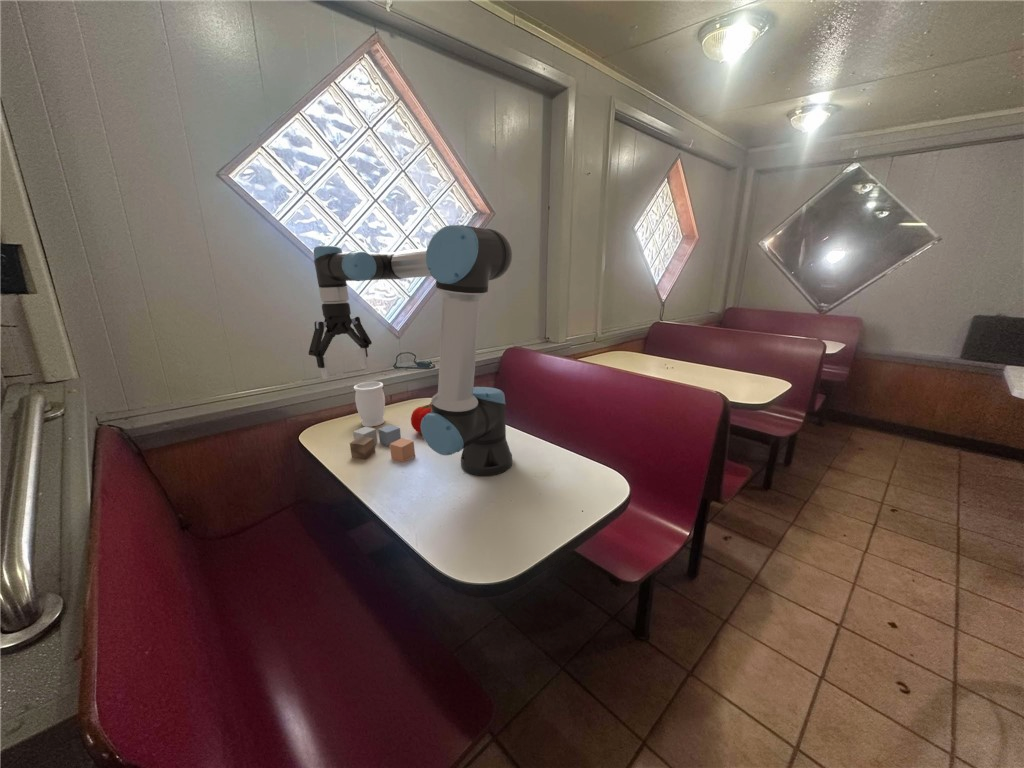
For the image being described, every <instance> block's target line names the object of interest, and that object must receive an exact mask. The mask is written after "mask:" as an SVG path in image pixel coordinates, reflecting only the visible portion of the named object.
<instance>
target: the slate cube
mask: <svg viewBox="0 0 1024 768" xmlns="http://www.w3.org/2000/svg"><path fill="white" fill-rule="evenodd" d="M377 431H378V438H379V443H380V444H381V445H384V446H386V447H390V444H391V443H393V442H395V441H397V440H399V439H401V438H402V435H401V428H400V427H398V426H397V425H393V424H389V425H386V426H383V427H380V428H377Z"/></svg>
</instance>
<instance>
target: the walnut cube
mask: <svg viewBox="0 0 1024 768" xmlns="http://www.w3.org/2000/svg"><path fill="white" fill-rule="evenodd" d="M349 447H350V453H351V454H350V455H351V458H352V459H357V460H358V459H359V460H365V461H366V460H367V459H368V458H370V457H371V456H373V455H375V454H376V446H375V444H374V438H368V437H359V438H357V439H356V440H352V441H351V442H349Z"/></svg>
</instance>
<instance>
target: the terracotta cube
mask: <svg viewBox="0 0 1024 768" xmlns="http://www.w3.org/2000/svg"><path fill="white" fill-rule="evenodd" d="M414 442H415V441H414V440H410V439H408V438H404V437H401V439H399V440H397V441H395V442H393V443H391V444H390V446H389V449H390V459H392V460H394V461H398V462H401V463H404V462H407V461H408V460H410V459H412V458H413V457H415V456H416V452H415V443H414Z"/></svg>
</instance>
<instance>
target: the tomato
mask: <svg viewBox="0 0 1024 768" xmlns="http://www.w3.org/2000/svg"><path fill="white" fill-rule="evenodd" d="M427 413H431V402H430V403H429V404H427V405H423V406H418V407H416V408H415V409H414V410H413V411H412V413H411V417H410V423H411V426H412V428H413V429H414V431H415V432H417V433H419V434H422V432H421V421H422V419H423V417H425V415H426V414H427Z"/></svg>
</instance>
